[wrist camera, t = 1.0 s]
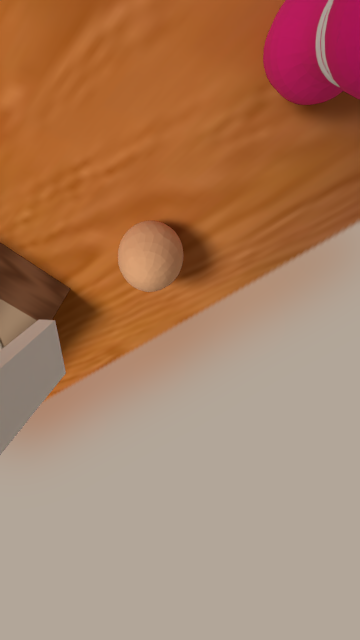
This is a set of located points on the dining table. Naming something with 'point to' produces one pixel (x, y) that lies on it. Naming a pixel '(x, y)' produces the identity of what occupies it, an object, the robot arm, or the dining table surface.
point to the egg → (150, 256)
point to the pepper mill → (314, 50)
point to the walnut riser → (25, 295)
